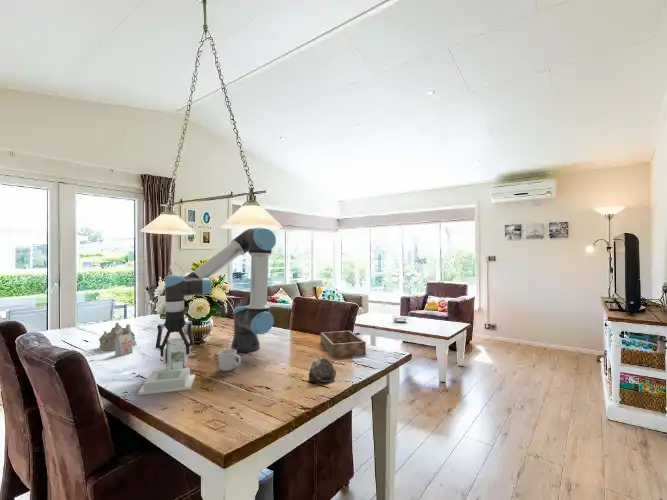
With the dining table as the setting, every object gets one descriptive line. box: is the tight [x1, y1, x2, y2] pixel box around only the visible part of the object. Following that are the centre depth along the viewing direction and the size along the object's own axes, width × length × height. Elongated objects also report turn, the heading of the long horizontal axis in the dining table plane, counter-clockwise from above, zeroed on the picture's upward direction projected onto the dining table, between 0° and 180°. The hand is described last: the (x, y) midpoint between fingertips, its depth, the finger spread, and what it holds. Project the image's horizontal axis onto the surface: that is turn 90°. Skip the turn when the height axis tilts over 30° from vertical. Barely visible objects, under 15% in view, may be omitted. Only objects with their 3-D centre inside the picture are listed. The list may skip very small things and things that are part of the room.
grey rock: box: [98, 322, 137, 352], centre depth 195 cm, size 16×16×15 cm
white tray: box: [137, 367, 196, 396], centre depth 137 cm, size 18×14×4 cm
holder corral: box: [320, 330, 367, 358], centre depth 187 cm, size 17×26×6 cm, turn 15°
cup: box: [217, 348, 242, 372], centre depth 155 cm, size 11×8×8 cm
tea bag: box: [114, 334, 134, 357], centre depth 181 cm, size 4×7×10 cm, turn 152°
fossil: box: [308, 357, 337, 384], centre depth 142 cm, size 11×9×10 cm
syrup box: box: [165, 337, 185, 370], centre depth 152 cm, size 6×6×14 cm
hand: (175, 362), depth 152 cm, fingers closed on syrup box, 8 cm apart
